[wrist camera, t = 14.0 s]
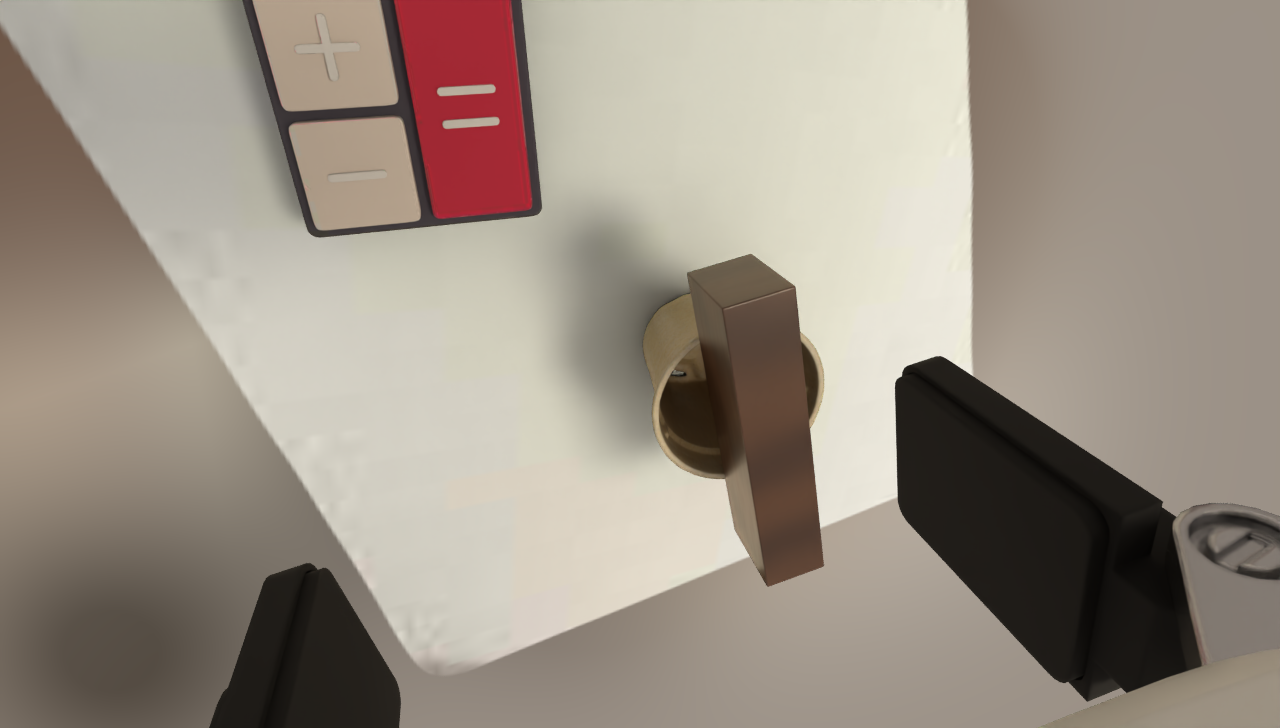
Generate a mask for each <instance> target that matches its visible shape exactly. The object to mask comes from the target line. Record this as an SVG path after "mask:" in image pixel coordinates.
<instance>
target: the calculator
mask: <svg viewBox="0 0 1280 728" xmlns="http://www.w3.org/2000/svg"><path fill="white" fill-rule="evenodd" d="M242 1H243V4H244V8H245V11H246V15H247V18H248V22H249V25H250V29H251V32H252V36H253V39H254V43H255V47H256V50H257V54H258V57H259V61H260V64H261V68H262V71H263V75H264V78H265V82H266V86H267V89H268V93H269V96H270V100H271V103H272V107H273V110H274V114H275V117H276V121H277V124H278V128H279V132H280V135H281V139H282V142H283V146H284V149H285V153H286V156H287V160H288V163H289V167H290V171H291V174H292V178H293V181H294V185H295V188H296V192H297V195H298V199H299V202H300V206H301V209H302V213H303V217H304V220H305V224H306V227H307V230H308V232H309V233H310V234H311V235H313V236H315V237H330V236H340V235H350V234H360V233H370V232H380V231H390V230H400V229H410V228H420V227H430V226H439V225H449V224H459V223H469V222H479V221H489V220H499V219H509V218H519V217H529V216H535V215H537V214H539V213H540V211H541V209H542V202H541V192H540V182H539V172H538V162H537V152H536V142H535V132H534V122H533V112H532V102H531V92H530V82H529V72H528V62H527V52H526V42H525V32H524V23H523V13H522V3H521V0H242Z"/></svg>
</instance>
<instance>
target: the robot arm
mask: <svg viewBox="0 0 1280 728" xmlns="http://www.w3.org/2000/svg"><path fill="white" fill-rule="evenodd" d="M895 405H896V445H897V486H898V504H899V507H900V510H901V512H902V515H903V516H904V518H905V519H906V521H907V522H908V523H909V524H910V525H911V526H912V527H913V528H914V530H916V532H917V533H918V534H919V535H920V536H921V537H922V538H923V539H924V540H925V541H926V542H927V543H928V545H929V546H930V547H931V548H932V549H933V550H934V551H935V552H936V553H937V554H938V555H939V556H940V557H941V558H942V560H943V561H944V562H946V564H947V565H948V566H949V567H950V568H951V569H952V570H953V571H954V572H955V573H956V575H957V576H959V578H960V579H961V580H962V581H963V582H964V583H965V584H966V585H967V586H968V587H969V588H970V589H971V591H972V592H973V593H974V594H975V595H976V596H977V597H978V598H979V599H980V600H981V601H982V602H983V604H984V605H985V606H986V607H987V608H988V609H989V610H990V611H991V612H992V613H993V614H994V615H995V616H996V617H997V618H998V619H999V621H1000V622H1001V623H1002V624H1003V625H1004V626H1005V627H1006V628H1007V629H1008V630H1009V631H1010V632H1011V634H1013V636H1014V637H1015V638H1016V639H1017V640H1018V641H1019V642H1020V643H1021V644H1022V645H1023V646H1024V647H1025V648H1026V650H1027V651H1028V652H1029V653H1030V654H1031V655H1032V656H1033V657H1034V658H1035V659H1036V660H1037V661H1038V662H1039V664H1040V665H1042V667H1043V668H1044V669H1045V670H1046V671H1047V672H1048V673H1049V674H1050V675H1051V676H1052V677H1053V678H1054V679H1056V680H1058V681H1059V682H1062V683H1066V682H1069V683H1070V684H1071V685H1072V686H1073V687H1074V688H1075V689H1076V690H1077V692H1079V694H1080V695H1081V696H1083V698H1084V699H1085V700H1086V701H1090V700H1092V699H1095V698H1097V697H1100V696H1102V695H1105V694H1107V693H1109V692H1112V691H1114V690H1117V689H1119V688H1122V689H1123V690H1124V691H1125V692H1126V694H1123V695H1120V696H1118V697H1115V698H1113V699H1110V700H1107V701H1105V702H1102V703H1100V704H1097V705H1094V706H1092V707H1089V708H1087V709H1084V710H1081V711H1079V712H1076V713H1074V714H1071V715H1068V716H1066V717H1063V718H1061V719H1058V720H1056V721H1053V722H1051V723H1048V724H1046V725H1044V726H1041V727H1039V728H1280V516H1278V515H1275V514H1272V513H1269V512H1266V511H1263V510H1260V509H1257V508H1253V507H1248V506H1243V505H1237V504H1228V503H1225V504H1224V503H1209V504H1203V505H1196V506H1193V507H1191V508H1189V509H1187V510H1185V511H1183V512H1181V513H1180V514H1179V515H1178V516H1177V517H1176V516H1174V515H1173V514H1171V513H1170V512H1168V511H1167V510H1165V509H1164V508H1162V503H1163V502H1162V501H1161V500H1160V499H1158V498H1157V497H1155V496H1154V495H1152V494H1151V493H1149V492H1148V491H1146V490H1144V489H1143V488H1142V487H1140V486H1139V485H1137V484H1135V483H1134V482H1132V481H1131V480H1129V479H1128V478H1126V477H1125V476H1123V475H1122V474H1120V473H1119V472H1117V471H1116V470H1114V469H1113V468H1111V467H1110V466H1108V465H1107V464H1105V463H1104V462H1102V461H1101V460H1099V459H1098V458H1096V457H1095V456H1093V455H1091V454H1090V453H1088V452H1087V451H1085V450H1084V449H1082V448H1081V447H1079V446H1078V445H1076V444H1075V443H1073V442H1072V441H1070V440H1069V439H1067V438H1066V437H1064V436H1063V435H1061V434H1059V433H1058V432H1057V431H1055V430H1053V429H1052V428H1051V427H1049V426H1048V425H1046V424H1044V423H1043V422H1041V421H1040V420H1038V419H1037V418H1035V417H1034V416H1032V415H1031V414H1029V413H1028V412H1026V411H1025V410H1023V409H1022V408H1020V407H1019V406H1017V405H1016V404H1014V403H1013V402H1011V401H1010V400H1008V399H1006V398H1005V397H1004V396H1002V395H1000V394H999V393H997V392H996V391H994V390H993V389H991V388H990V387H988V386H987V385H985V384H984V383H982V382H980V381H979V380H978V379H976V378H975V377H973V376H972V375H970V374H969V373H967V372H966V371H964V370H963V369H961V368H960V367H958V366H956V365H955V364H953V363H952V362H950V361H949V360H947V359H946V358H944V357H941V356H936V357H933V358H930V359H927V360H924V361H921V362H918V363H915V364H912V365H909V366H907V367H905V368H904V370H903V372H902V377H900V378H898V379H897V380H896V383H895ZM400 706H401V699H400V692H399V687H398V684H397V681H396V679H395V677H394V676H393V674H392V672H391V671H390V669H389V667H388V666H387V664H386V662H385V661H384V659H383V657H382V656H381V654H380V652H379V651H378V649H377V648H376V646H375V644H374V643H373V641H372V639H371V638H370V636H369V634H368V633H367V631H366V629H365V628H364V626H363V624H362V623H361V621H360V619H359V618H358V616H357V614H356V613H355V611H354V609H353V608H352V606H351V604H350V603H349V601H348V600H347V598H346V596H345V595H344V593H343V591H342V589H341V588H340V586H339V585H338V583H337V581H336V580H335V578H334V576H333V575H332V573H331V572H330V571H329V570H328V569H327V568H322V569H319V570H317V568H316V567H315V566H314V565H312V564H311V563H306V564H303V565H300V566H297V567H294V568H291V569H288V570H285V571H282V572H279V573H276V574H272V575H270V576H268V577H267V578H266V580H265V581H264V583H263V586H262V589H261V592H260V595H259V598H258V601H257V604H256V607H255V610H254V613H253V616H252V619H251V622H250V625H249V628H248V631H247V633H246V636H245V639H244V642H243V646H242V648H241V651H240V654H239V657H238V660H237V663H236V666H235V669H234V672H233V675H232V678H231V681H230V684H229V687H228V688H227V689H226V690H225V691H224V692H223V694H222V696H221V698H220V700H219V702H218V704H217V707H216V710H215V713H214V715H213V718H212V721H211V724H210V727H209V728H399V721H400Z"/></svg>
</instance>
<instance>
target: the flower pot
mask: <svg viewBox="0 0 1280 728" xmlns="http://www.w3.org/2000/svg"><path fill="white" fill-rule="evenodd" d="M800 337H801V347H802V357H803V366H804V376H805V386H806V396H807V405H808V415H809V425H810V428H811V426H812V425H813V423H814V421H815V418H816V416H817V413H818V411H819V408H820V405H821V402H822V398H823V392H824V374H823V372H824V371H823V367H822V363H821V360H820V357H819V355H818V353H817V351H816V349H815V347H814V345H813V344H812V343H811V342H810V340H809V339H808V338H807V337H806V336H805V335H803V334H802V333H801V332H800ZM643 353H644V358H645V361H646V364H647V366H648V369H649V373H650V376H651V380H652V384H653V388H654V391H655V393H654V397H653V404H652V423H653V428H654V432H655V435H656V438H657V440H658V443H659V445H660V446H661V448H662V450H663V451H664V453H665V454H666V456H667V457H668V458H669V459H670V460H671V461H672V462H673V463H675V464H676V465H677V466H678V467H680V468H681V469H683V470H685V471H687V472H690V473H692V474H694V475H698V476H701V477H705V478H713V479H725V475H724V470H723V464H722V459H721V454H720V448H719V443H718V438H717V432H716V427H715V421H714V416H713V411H712V405H711V400H710V395H709V389H708V384H707V379H706V373H705V368H704V362H703V357H702V352H701V346H700V341H699V336H698V330H697V325H696V319H695V314H694V309H693V303H692V298H691V294H686V295H683V296H681V297H679V298H677V299H675V300H673V301H672V302H670V303H668V304H666V305H664V306H662V307H661V308H660V309H659V310H658V311H657V312H656V313H655V314H654V316H653V317H652V319H651V320H650V322H649V324H648V326H647V328H646V331H645V334H644V339H643ZM673 370H676V371H680V372H685V373H686V375H685V376H673V375H671V373H672V372H673Z"/></svg>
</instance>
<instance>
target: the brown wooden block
mask: <svg viewBox="0 0 1280 728" xmlns="http://www.w3.org/2000/svg"><path fill="white" fill-rule="evenodd" d="M687 277H688V282H689V287H690V293H691V298H692V303H693V309H694V314H695V319H696V325H697V330H698V336H699V341H700V346H701V352H702V357H703V362H704V368H705V373H706V379H707V384H708V389H709V395H710V400H711V405H712V411H713V416H714V421H715V427H716V432H717V438H718V443H719V448H720V454H721V459H722V464H723V470H724V475H725V481H726V486H727V491H728V497H729V502H730V507H731V513H732V518H733V523H734V529H735V531H736V533H737V535H738V536H739V538H740V540H741V542H742V543H743V545H744V547H745V549H746V550H747V552H748V554H749V556H750V557H751V559H752V561H753V563H754V564H755V566H756V568H757V569H758V571H759V573H760V575H761V576H762V578H763V580H764V582H765V583H766V585H767V586H768V587H769V586H772V585H774V584H777V583H780V582H783V581H785V580H788V579H791V578H794V577H796V576H799V575H802V574H805V573H807V572H810V571H813V570H816V569H818V568H821V567H823V566H824V562H823V554H822V553H823V552H822V542H821V533H820V523H819V513H818V503H817V493H816V484H815V474H814V464H813V454H812V444H811V435H810V425H809V415H808V405H807V396H806V386H805V376H804V366H803V357H802V347H801V337H800V327H799V318H798V308H797V298H796V288H795V286H794V285H793V284H791V283H790V282H789V281H787V280H786V279H785V278H783V277H782V276H781V275H779V274H778V273H776V272H775V271H774V270H772V269H771V268H770V267H768V266H767V265H766V264H764V263H763V262H762V261H760V260H759V259H757V258H756V257H755V256H753V255H752V254H749V255H745V256H742V257H739V258H735V259H732V260H729V261H725V262H722V263H719V264H715V265H712V266H708V267H705V268H702V269H698V270H695V271H692V272H688V273H687Z"/></svg>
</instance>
